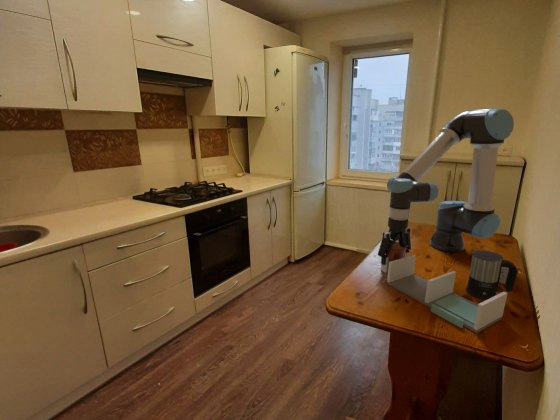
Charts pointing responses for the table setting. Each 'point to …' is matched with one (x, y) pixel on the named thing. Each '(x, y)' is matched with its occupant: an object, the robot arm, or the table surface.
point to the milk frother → (488, 274)
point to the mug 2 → (503, 275)
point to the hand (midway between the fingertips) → (392, 268)
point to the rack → (444, 296)
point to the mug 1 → (396, 252)
